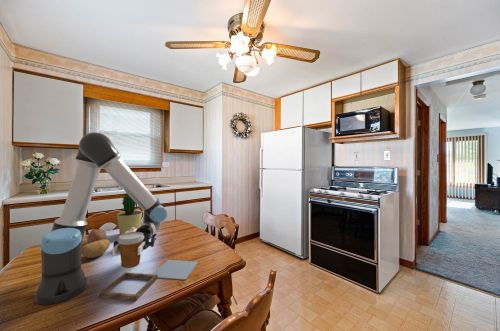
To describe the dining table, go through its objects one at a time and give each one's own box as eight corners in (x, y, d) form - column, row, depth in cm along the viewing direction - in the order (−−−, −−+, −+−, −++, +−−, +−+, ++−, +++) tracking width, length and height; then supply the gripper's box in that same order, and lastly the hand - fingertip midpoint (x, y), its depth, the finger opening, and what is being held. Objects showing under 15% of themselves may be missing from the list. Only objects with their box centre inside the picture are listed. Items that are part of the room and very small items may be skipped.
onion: (90, 248, 132) (85, 233, 133) (108, 241, 137) (103, 226, 138) (89, 248, 124) (83, 231, 125) (107, 240, 129) (102, 224, 130)
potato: (115, 252, 120) (115, 238, 120) (89, 263, 107) (89, 247, 106) (102, 249, 123) (102, 235, 123) (75, 260, 110) (75, 244, 110)
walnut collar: (98, 297, 81) (98, 293, 81) (125, 276, 96) (125, 272, 96) (136, 301, 79) (136, 296, 79) (157, 278, 94) (157, 274, 94)
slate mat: (150, 277, 95) (150, 276, 95) (168, 260, 111) (168, 259, 111) (185, 280, 93) (185, 279, 93) (198, 262, 109) (198, 261, 109)
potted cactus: (146, 234, 149) (146, 191, 148) (121, 240, 137) (121, 193, 136) (137, 229, 159) (137, 188, 158) (113, 234, 147) (113, 190, 147)
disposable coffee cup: (148, 263, 89) (149, 234, 88) (124, 273, 81) (125, 241, 80) (135, 257, 94) (136, 230, 94) (112, 265, 86) (112, 236, 86)
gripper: (167, 239, 107) (155, 260, 84) (121, 240, 103) (95, 262, 81) (168, 224, 107) (155, 241, 84) (121, 225, 103) (96, 242, 81)
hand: (126, 251), depth 82 cm, fingers closed on disposable coffee cup, 8 cm apart
